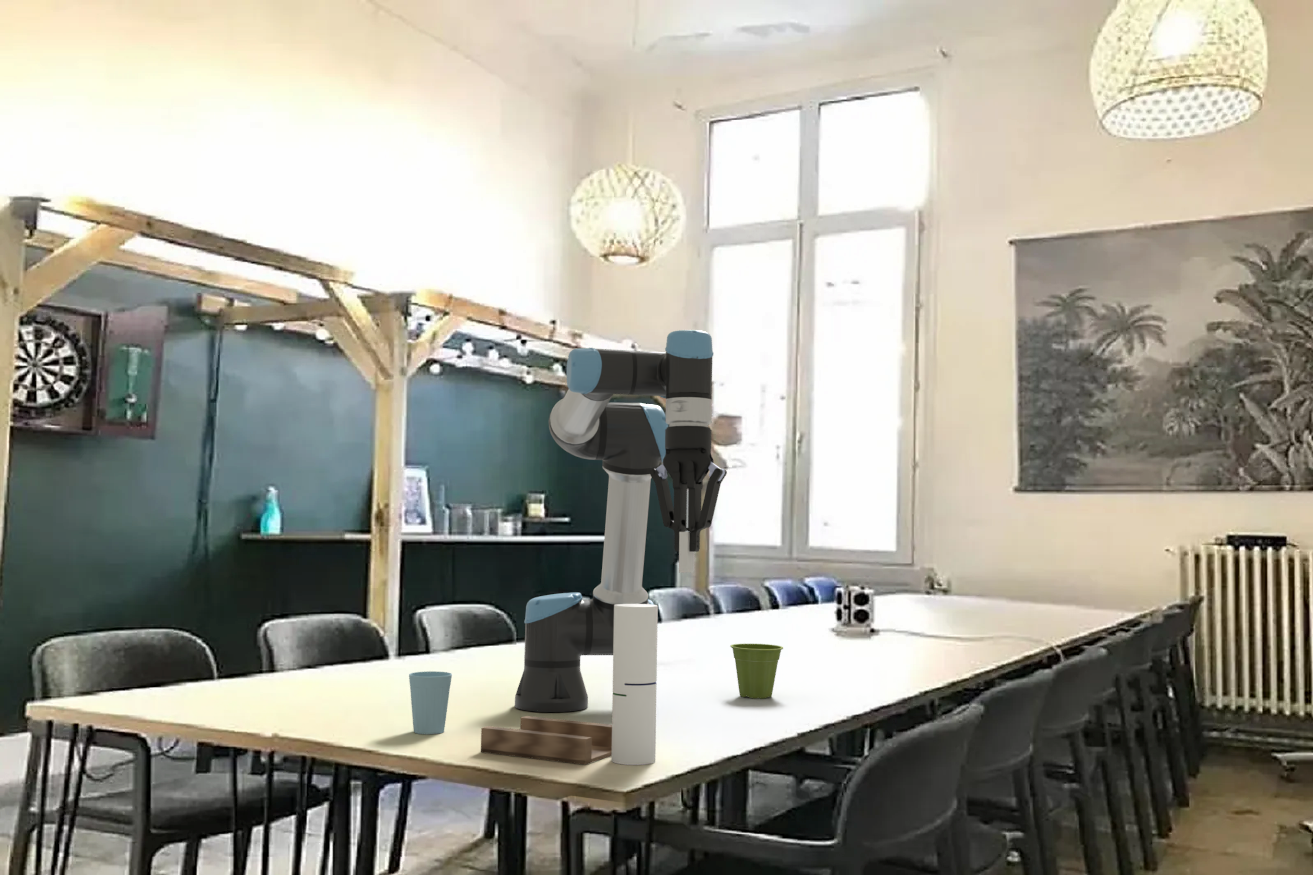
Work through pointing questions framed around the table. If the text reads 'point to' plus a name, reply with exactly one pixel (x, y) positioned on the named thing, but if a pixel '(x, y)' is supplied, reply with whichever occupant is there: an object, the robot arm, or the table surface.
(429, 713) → the cup
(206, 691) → the table surface
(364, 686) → the table surface
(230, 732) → the table surface
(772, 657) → the plant pot
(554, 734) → the walnut U-channel
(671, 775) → the table surface
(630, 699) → the cylindrical container
